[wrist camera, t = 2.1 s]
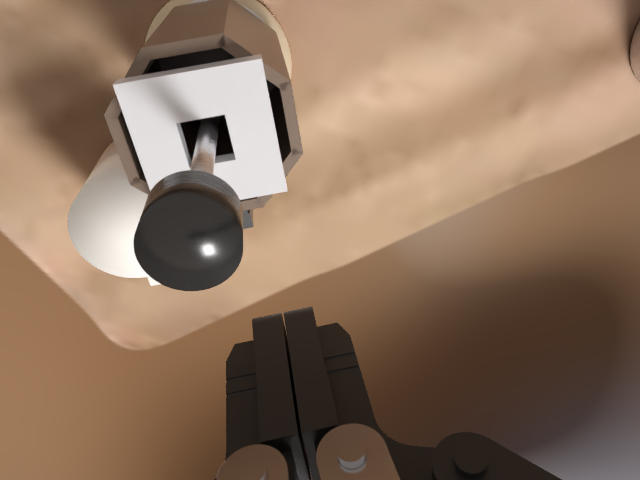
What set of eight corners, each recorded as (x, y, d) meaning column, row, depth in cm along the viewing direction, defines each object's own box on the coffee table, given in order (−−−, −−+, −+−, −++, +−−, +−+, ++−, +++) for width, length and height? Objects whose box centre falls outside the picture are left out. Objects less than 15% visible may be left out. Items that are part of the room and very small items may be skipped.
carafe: (276, -27, 37) (297, 5, 23) (304, 140, 44) (332, 241, 30) (123, -1, 37) (51, 47, 23) (175, 163, 44) (143, 277, 30)
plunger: (235, 64, 31) (229, 191, 17) (248, 121, 33) (252, 280, 19) (176, 75, 31) (117, 212, 17) (192, 131, 33) (152, 299, 18)
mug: (182, 123, 42) (169, 168, 34) (213, 228, 47) (207, 287, 40) (83, 141, 42) (48, 190, 34) (125, 245, 47) (102, 307, 39)
